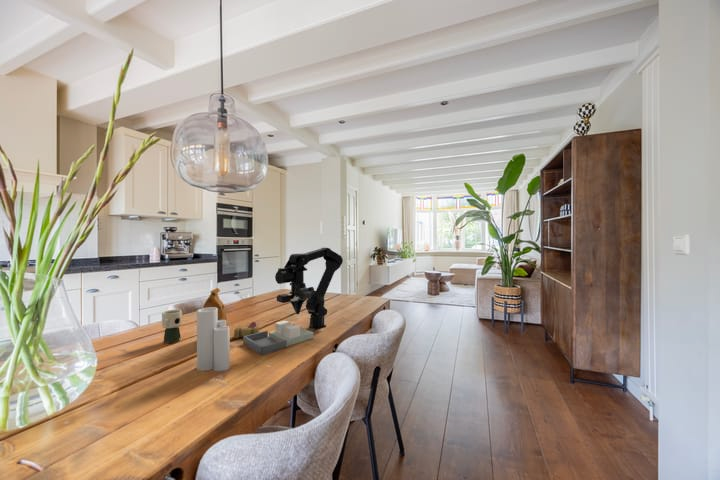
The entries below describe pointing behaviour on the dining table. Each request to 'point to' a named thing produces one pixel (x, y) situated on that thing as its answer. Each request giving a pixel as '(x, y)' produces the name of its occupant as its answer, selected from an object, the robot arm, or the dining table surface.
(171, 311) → the character mug
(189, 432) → the dining table surface
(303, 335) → the board
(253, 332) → the gavel
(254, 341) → the tray
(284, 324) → the white square block
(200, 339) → the vase
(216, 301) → the coffee package
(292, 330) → the light grey block
